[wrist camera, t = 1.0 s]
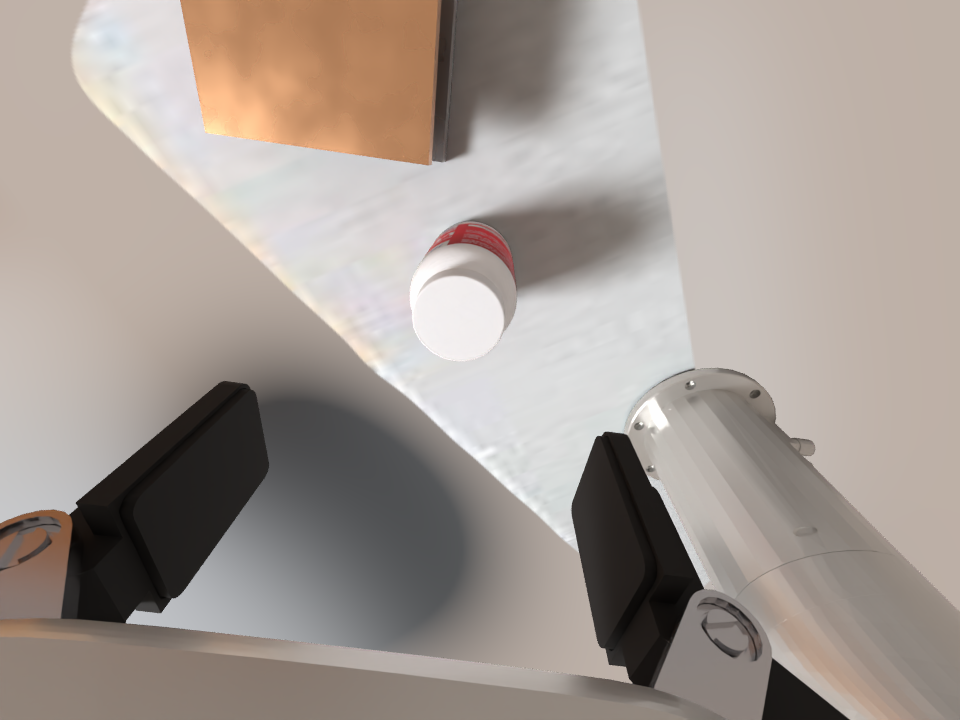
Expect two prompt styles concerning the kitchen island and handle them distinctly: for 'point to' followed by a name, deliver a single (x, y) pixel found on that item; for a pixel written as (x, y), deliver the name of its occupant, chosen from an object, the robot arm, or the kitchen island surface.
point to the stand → (327, 73)
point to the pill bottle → (464, 292)
